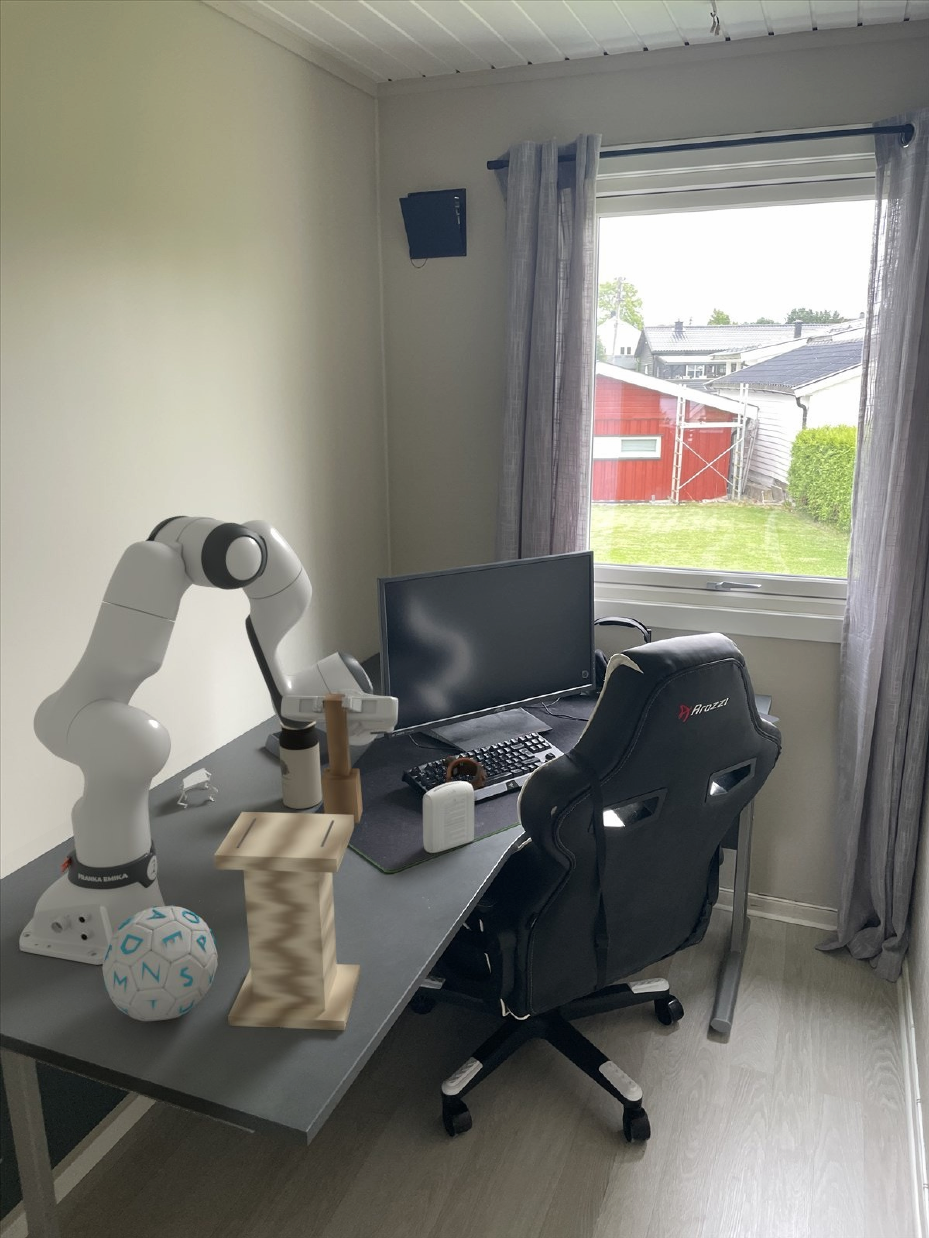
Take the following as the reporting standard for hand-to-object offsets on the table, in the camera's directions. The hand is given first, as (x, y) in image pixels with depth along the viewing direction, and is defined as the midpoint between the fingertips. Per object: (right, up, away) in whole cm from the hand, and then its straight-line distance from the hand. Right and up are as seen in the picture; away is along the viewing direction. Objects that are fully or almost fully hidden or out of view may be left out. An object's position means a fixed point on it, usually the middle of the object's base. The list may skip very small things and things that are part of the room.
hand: (332, 701), depth 150 cm
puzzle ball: (-20, -41, -23) cm, 51 cm away
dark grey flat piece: (-15, -18, +63) cm, 67 cm away
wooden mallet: (0, -10, +8) cm, 12 cm away
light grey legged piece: (-34, -24, +40) cm, 58 cm away
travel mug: (-12, -24, +38) cm, 47 cm away
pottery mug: (+22, -23, +44) cm, 54 cm away
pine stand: (-2, -40, -21) cm, 46 cm away
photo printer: (+19, -29, +21) cm, 41 cm away
